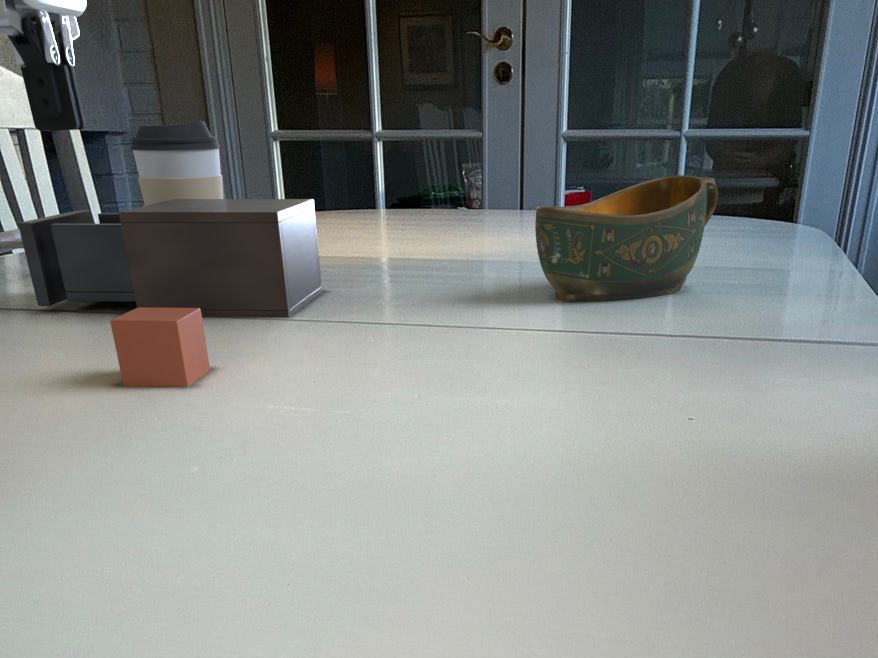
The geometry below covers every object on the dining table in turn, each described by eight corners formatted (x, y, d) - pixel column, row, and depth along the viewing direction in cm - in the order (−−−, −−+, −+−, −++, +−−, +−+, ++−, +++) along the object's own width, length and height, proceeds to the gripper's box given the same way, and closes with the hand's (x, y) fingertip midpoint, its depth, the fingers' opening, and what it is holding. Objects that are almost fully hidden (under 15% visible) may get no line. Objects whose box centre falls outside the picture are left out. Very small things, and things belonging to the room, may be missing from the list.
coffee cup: (137, 281, 97) (107, 121, 89) (180, 269, 105) (155, 120, 97) (213, 284, 95) (189, 121, 87) (251, 271, 103) (232, 119, 95)
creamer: (749, 302, 84) (766, 182, 79) (539, 309, 82) (543, 185, 77) (701, 280, 95) (713, 173, 90) (516, 285, 93) (517, 176, 88)
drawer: (-21, 305, 81) (-43, 222, 77) (43, 284, 90) (25, 209, 87) (173, 307, 79) (158, 223, 76) (215, 285, 89) (204, 210, 86)
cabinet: (138, 318, 80) (118, 211, 75) (189, 293, 90) (174, 199, 86) (289, 320, 79) (277, 212, 74) (322, 294, 89) (313, 199, 85)
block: (123, 389, 59) (109, 320, 57) (150, 372, 63) (137, 307, 61) (188, 390, 59) (176, 321, 57) (211, 373, 63) (200, 307, 61)
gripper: (-9, -165, 64) (59, 130, 74) (-146, -234, 51) (-43, 133, 61) (93, -170, 64) (148, 127, 73) (-20, -241, 51) (64, 130, 60)
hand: (61, 129), depth 67 cm, fingers closed
